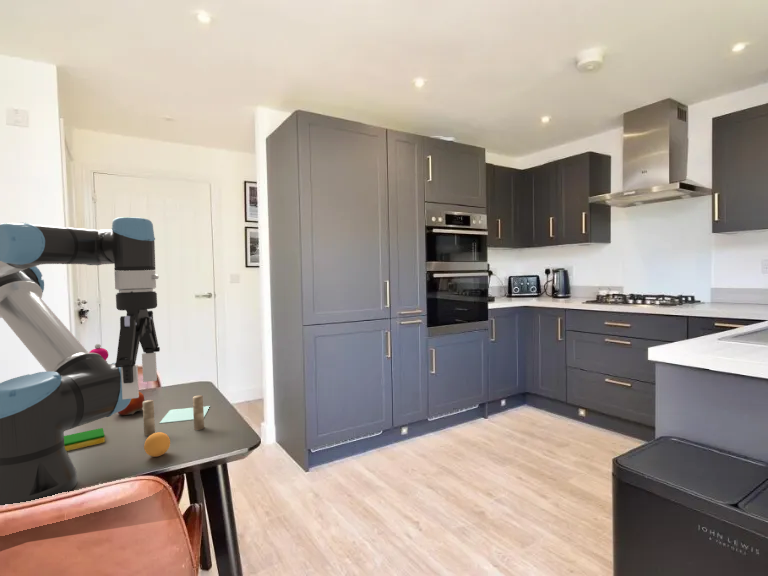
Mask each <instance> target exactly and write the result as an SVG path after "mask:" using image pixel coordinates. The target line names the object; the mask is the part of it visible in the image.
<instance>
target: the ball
mask: <svg viewBox="0 0 768 576" xmlns="http://www.w3.org/2000/svg"><path fill="white" fill-rule="evenodd" d="M170 446H171V439H170V437H169V435H168V434H167V433H165V432H161V431H159V432H155V433H153V434H151V435H149V436H148V437H147V438H146V439H145V441H144V445H143V448H144V451H145V453H146V454H147V455H148V456H150V457H157V458H158V457H160V456H162V455H164V454H166V453H167V452H168V450H169V448H170Z"/></svg>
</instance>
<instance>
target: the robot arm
mask: <svg viewBox="0 0 768 576" xmlns="http://www.w3.org/2000/svg"><path fill="white" fill-rule="evenodd" d="M111 224H112V225H111V229H91V228H89V229H87V228H77V227H76V228H74V227H65V226H55V225H43V224H34V223H33V224H32V223H27V222H18V223H17V222H4V223H1V224H0V319H1V318H2V319H3V321H4V322H5V323H6V325H8V327H9V328H10V329H11V330H12V332H14V334H15V335H16V336H17V337H18V338H19V340H20V341H21V343H23V345H24V346H25V348H27V350H28V351H29V352H30V354H31V355H32V356H33V357H34V359H35V360H36V361H37V362H38V363H39V364H40V365H41V367H42V368H43V369H44V370H45V371H38V372H35V373H31V374H29V373H28V374H23V375H21V376H17V377H16V376H15V377H13V378H10V379H6V380H4V381H1V382H0V505H5V504H13V503H20V502H26V501H31V500H35V499H39V498H43V497H47V496H52V495H55V494H58V493H62V492H67V491H69V492H71V490H73V489H74V488H75V487H76V486H77V484H78V474H77V470H76V467H75V465H74V464H73V461H72V459H71V458H70V455H69V453H68V451H66V450H65V446H64V436H65V434H64V433H65V432H66V431H68V430H71V429H74V428H77V427H81V426H84V425H85V424H89V423H92V422H94V421H95V422H96V421H98V420H100V419H105V418H110V417H111V416H112V415H115V414H117V413H118V412H120V411H122V410H123V409H125V408H126V407H127V406H128V404H129V403H130V401H131V399H132V398H138V397H139V392H140V391H139V387H140V386H139V373H138V372H139V371H138V370H139V369H138V364H136V363H137V357H138V352H139V346H141V348H142V351H143V353H141V363H142V364H141V365H142V382H143V383H147V382H148V383H149V382H156V381H158V372H157V353H158V352H159V353H160V350H161V349H160V346H159V342H158V339H157V338H158V337H157V333H156V327H155V322H154V312H153V309H156V308H157V307H158V296H157V295H158V293H157V292H156V291H154V289H156V288H157V280H158V279H159V277H160V276H159V274H156V246H155V241H156V237H155V231H154V225H153V222H152V221H151V220H150V219H147V218H143V217H132V216H131V217H130V216H121V217H120V216H119V217H116V218H113V220H112V223H111ZM40 265H87V266H101V265H114V290H116V291H118V292H117V293H115V302H116V303H115V304H116V306H115V307H116V309H117V310H118V311H126V315H124V316H123V315H122V316H120V318H119V323H120V324H119V335H118V344H117V351H116V352H117V353H116V359H115V362H113V363H108V361H107V360H106V361H107V362H106V361H105V360H104V359H103V357H102V356H101V355H99V354H97V353H89V351H87V349H86V347H84V346H83V344H81V343H80V342H79V340H78V339H77V338H76V337H75V336H74V335H73V333H72V332H71V331H70V330H69V329H68V327H67V326H66V325H65V324H64V323H63V322H62V321H61V319H60V318H58V316H57V315H56V314H55V312H54V311H52V309H51V308H50V307H49V306H48V305H47V304H46V302H45V301H44V300H43V299H42V297H43V293H44V291H45V280H44V279H43V278H42V277H43V274H42V272H41V270H40V269H39V267H38V266H40Z"/></svg>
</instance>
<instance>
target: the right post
mask: <svg viewBox="0 0 768 576" xmlns="http://www.w3.org/2000/svg"><path fill="white" fill-rule="evenodd" d="M203 407H204V396H203V395H199V394H198V395H195V396H193V397H192V408H193V415H194V420H193V429H194V431H200V430H203V429H205V417H204V411H203Z"/></svg>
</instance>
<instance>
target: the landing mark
mask: <svg viewBox="0 0 768 576" xmlns="http://www.w3.org/2000/svg"><path fill="white" fill-rule="evenodd" d="M209 407H210V408H211V405H206V406H204V405H203V411H204V418H205V417H206V415H207V413H208V411H209V410H208V409H210V408H209ZM187 421H194V415H193V407H187V408H186V407H185V408H177V409H176V408H175V409H169V410H168V412H167V413H166V414H165V415H164V417H162V419H161V420H160V421H159V424H166V423H177V422H187Z"/></svg>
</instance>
